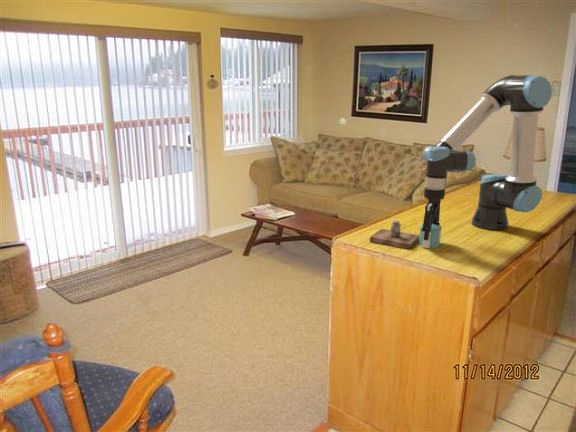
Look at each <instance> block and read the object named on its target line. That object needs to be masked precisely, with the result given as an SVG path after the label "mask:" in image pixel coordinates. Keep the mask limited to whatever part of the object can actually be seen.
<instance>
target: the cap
mask: <svg viewBox="0 0 576 432" xmlns="http://www.w3.org/2000/svg"><path fill="white" fill-rule="evenodd" d="M422 228H423V223H421V224H420V231H419V241H418V244H419V246H421V247H422V242H423V232H424V231H421V229H422ZM441 232H442V225H437V224H432V226H431V239H430V248H429V249H435V248H439V246H441V245H440V244H441V243H440V242H441V236H442V235H441Z"/></svg>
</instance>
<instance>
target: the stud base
mask: <svg viewBox="0 0 576 432" xmlns="http://www.w3.org/2000/svg"><path fill="white" fill-rule="evenodd" d="M390 225H391V226H390V229H385V228H380V229H379V230H377V231H376V232H375V233H374V234H372V235H371V236H370V237H369V242H370V243H375V244H380V245H386V246H391V247H395V248H400V249H401V248H402V249H407V250H410V249H412V247H413V246H415V245H416V244H417V243H418V242H419V240H420V234H415V233H409V232H408V233H407V232H403V231H401V223H400V221H399V220H393V221H392V222H391V224H390Z"/></svg>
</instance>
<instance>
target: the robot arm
mask: <svg viewBox="0 0 576 432" xmlns="http://www.w3.org/2000/svg"><path fill="white" fill-rule="evenodd" d="M552 95H553V89H552V83H550V81H549V80H548V79H547V78H546V77H545V76H542V75H535V74H527V75H522V74H521V75H515V74H512V75H506V76H504V77H502V78H500V79H498V80H497V81H496V82H494V83H492V84H491V85H490V86H488V87H487V88H486V89H485V90H484V91H483V92H482V93H481V94H480V96H479V99H478V101H477V102H476V103H475V104H474V105H473V106H472V107H471V108H470V109H469V110H468V111H467V112H466V113H465V114H464V115H463V116H462V117H461V119H459V120H458V122H457V123H455V124H454V125H453V126H452V127H451V129H450V130H449V131H448V132H447V133H446V134H445V135H444V136H443V137H442V138H440V140H439V141H438V142H437V143H436V144H435V145H429V146H426V147H425V148H424V150H423V153H422V157H423V161H424V162H426V170H425V171H426V172H425V177H424V179H423V180H424V181H425V182H424V186H425V188H424V192H423V197H424V198H425V199H427V200H428V202H427V203H426V205H425V206H424V207H425V208H424V216H423V217H424V218H423V223H422V224H423V228H422V229H421V228H420V229H421V231H424V232H423V242H422V246H421V247H422V248H424V249H431V248H430V239H431V226H432V224H437V225H440V224H441V223H440V214H441V213H440V212H441V202H442V200H444V198H445V196H446V195H445V194H446V189H445V188H446V186H447V177H448V176H447V175H448V173H451V172H453V173H454V172H455V173H456V172H467V171H471V170H473V169H474V167H475V166H476V163H477V162H476V161H477V159H476V158H477V157H476V156H475V154H474V152H472V151H468V150H467V151H466V150H462V151H461V150H458V149H460V147H462V145H463V144H465V142H466V141H467V140H469V138H470V137H471V136H472V135H473V134H474V133H475V132H476V131H477V130H478V129H479V128H480V127H481V126H482V124H483V123H485V121H486V120H487V119H488V118H490V116H491V115H493V113H497V112H499V111H500V110H501V109H502V108H503V107H505V106H506V107H507V106H510V107H509V108H510V109H509V110H510V111H509V112H510V113H511V114H512V115H513V125H512V138H511V139H512V141H511V150H510V163H509V164H510V166H509V174H506V173H505V174H501V173H500V174H499V173H495V174H493V173H491V174H484V175H482V177H481V180H480V183H479V184H480V185H479V194H478V201H477V203H478V204H477V208H476V210H475V212H474V213H473V216H472V218H471V225H473V226H474V227H476V228H479V229H485V230H491V231H502V230H507V229H508V228H509V218H508V214H507V213H508V212H507V209H510V210H513V211H514V212H521V213H523V214H524V213H529V212H532V211H534V210H535V209H537V206H539V204H540V203H541V200H542V197H543V190H542V189H541V188H540V187H539V186H537V178H536V177H535V176H534V167H535V166H534V165H535V154H536V144H537V134H538V133H537V132H538V131H537V130H538V120H539V115H540V114H541V113H542V112H543V111H544V108H545V107H546V106H547V105H549V101H551V99H552ZM440 226H441V225H440Z"/></svg>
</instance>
